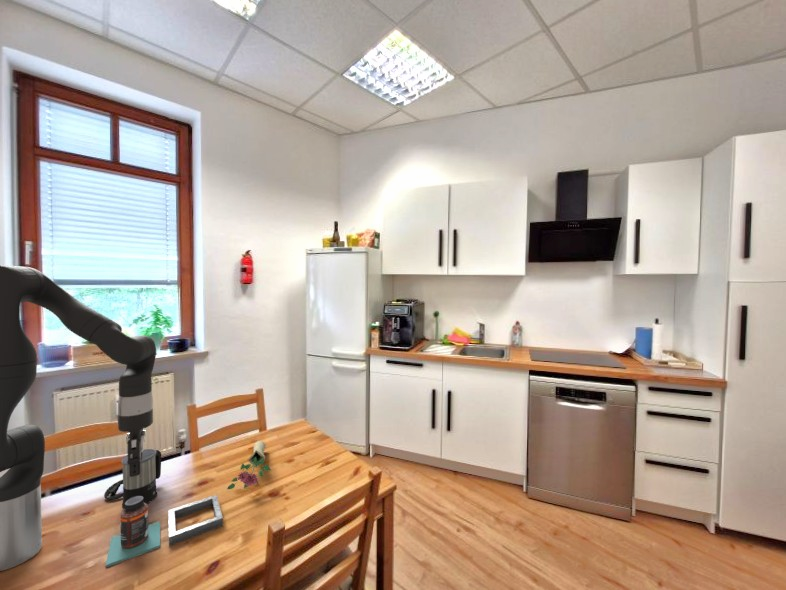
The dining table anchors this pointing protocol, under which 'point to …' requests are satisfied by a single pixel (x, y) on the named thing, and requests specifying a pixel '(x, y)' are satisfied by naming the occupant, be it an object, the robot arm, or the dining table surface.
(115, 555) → the teal mat
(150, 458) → the milk frother
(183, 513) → the grey square frame
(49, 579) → the dining table surface
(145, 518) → the supplement bottle
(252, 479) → the flower vase
